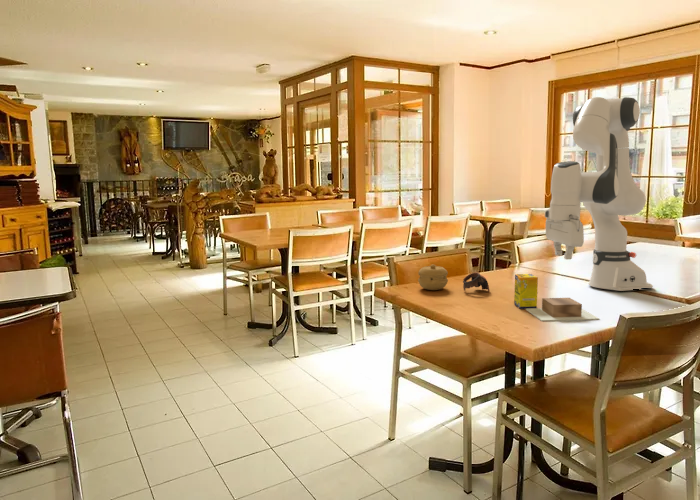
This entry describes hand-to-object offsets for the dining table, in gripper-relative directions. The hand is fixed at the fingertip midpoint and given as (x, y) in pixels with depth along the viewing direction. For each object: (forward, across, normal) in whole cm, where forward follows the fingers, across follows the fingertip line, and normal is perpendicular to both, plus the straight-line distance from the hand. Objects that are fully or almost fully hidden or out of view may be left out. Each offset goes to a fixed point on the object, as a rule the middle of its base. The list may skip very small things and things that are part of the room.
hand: (563, 257), depth 167 cm
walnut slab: (+18, 0, 0) cm, 18 cm away
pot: (+19, +42, +34) cm, 57 cm away
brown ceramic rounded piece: (+20, +37, +16) cm, 45 cm away
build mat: (+19, 0, 0) cm, 19 cm away
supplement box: (+19, +11, +8) cm, 23 cm away
